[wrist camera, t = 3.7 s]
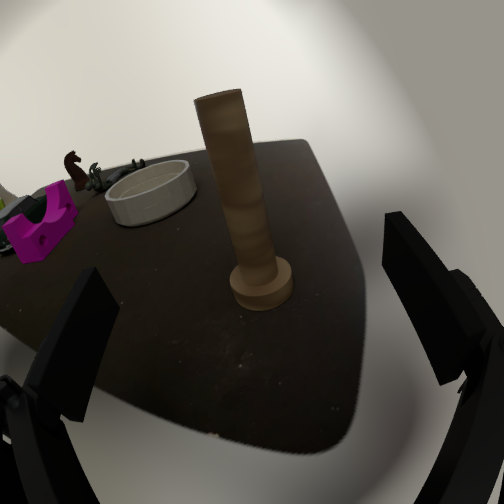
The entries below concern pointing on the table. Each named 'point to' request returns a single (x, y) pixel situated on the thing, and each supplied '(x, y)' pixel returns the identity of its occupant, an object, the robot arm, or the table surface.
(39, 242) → the toy block
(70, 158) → the chess piece
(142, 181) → the bowl
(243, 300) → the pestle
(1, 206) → the shape sorter
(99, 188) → the zombie figurine
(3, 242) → the miniature car
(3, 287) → the table surface
